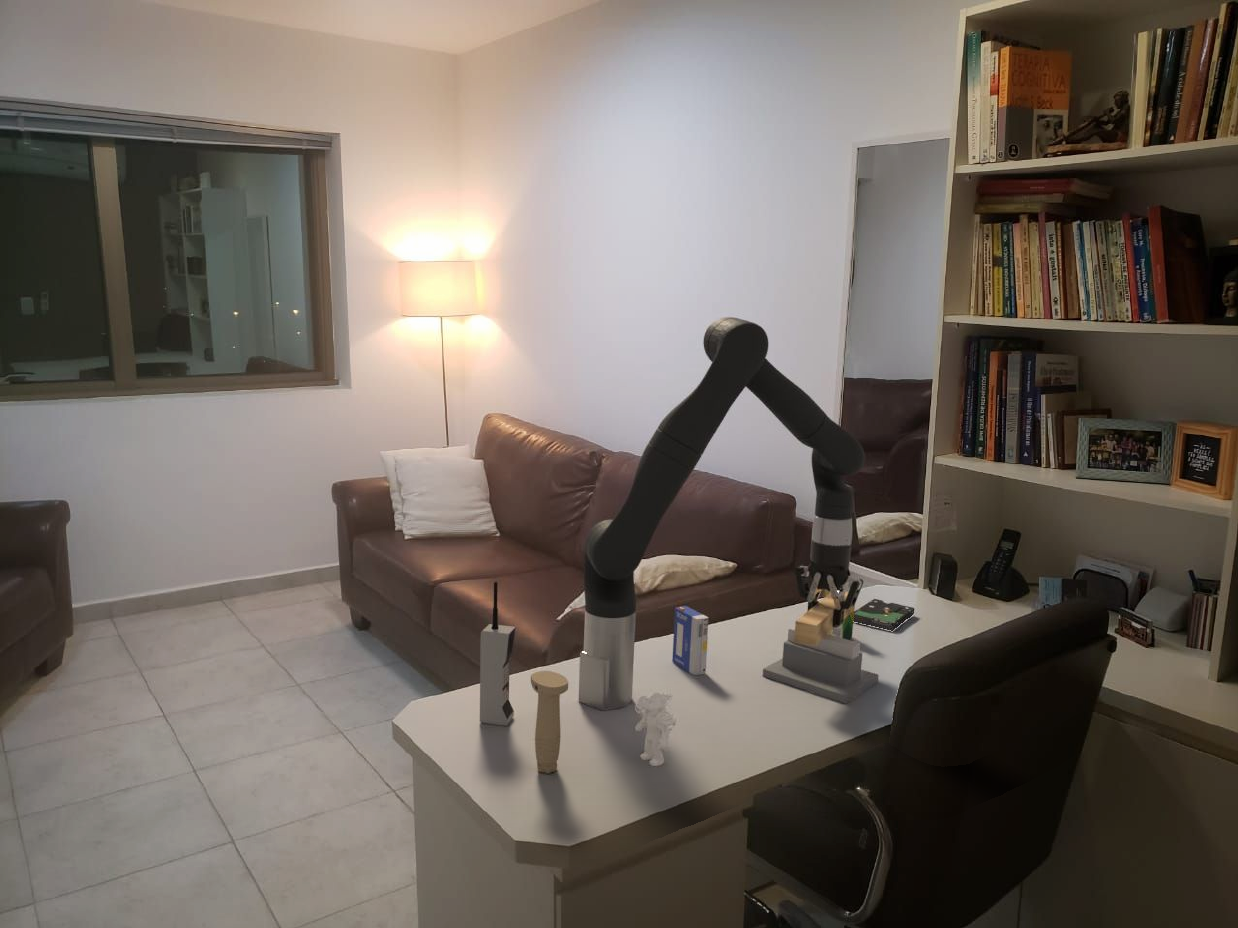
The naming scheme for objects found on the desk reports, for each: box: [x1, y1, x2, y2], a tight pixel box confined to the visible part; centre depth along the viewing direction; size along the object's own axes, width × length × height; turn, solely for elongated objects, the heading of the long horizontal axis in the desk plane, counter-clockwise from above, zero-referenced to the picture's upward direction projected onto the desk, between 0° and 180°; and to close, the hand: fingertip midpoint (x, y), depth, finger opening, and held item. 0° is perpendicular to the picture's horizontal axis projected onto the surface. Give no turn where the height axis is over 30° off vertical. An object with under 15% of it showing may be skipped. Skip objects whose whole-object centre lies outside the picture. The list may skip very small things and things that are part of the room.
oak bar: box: [794, 590, 853, 646], centre depth 181 cm, size 24×4×4 cm, turn 150°
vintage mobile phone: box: [479, 581, 516, 727], centre depth 158 cm, size 4×5×25 cm
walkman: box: [672, 605, 709, 676], centre depth 185 cm, size 8×3×12 cm, turn 31°
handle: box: [530, 670, 569, 774], centre depth 143 cm, size 5×6×15 cm
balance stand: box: [762, 625, 879, 704], centre depth 183 cm, size 14×18×9 cm
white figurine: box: [634, 692, 677, 767], centre depth 148 cm, size 9×4×12 cm, turn 33°
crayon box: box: [825, 589, 856, 641], centre depth 207 cm, size 7×3×12 cm, turn 22°
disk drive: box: [853, 598, 915, 632], centre depth 220 cm, size 10×3×15 cm
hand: (824, 622), depth 181 cm, fingers closed on oak bar, 4 cm apart
